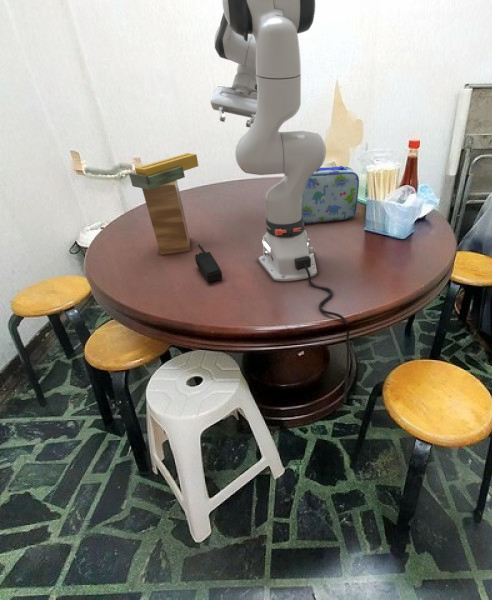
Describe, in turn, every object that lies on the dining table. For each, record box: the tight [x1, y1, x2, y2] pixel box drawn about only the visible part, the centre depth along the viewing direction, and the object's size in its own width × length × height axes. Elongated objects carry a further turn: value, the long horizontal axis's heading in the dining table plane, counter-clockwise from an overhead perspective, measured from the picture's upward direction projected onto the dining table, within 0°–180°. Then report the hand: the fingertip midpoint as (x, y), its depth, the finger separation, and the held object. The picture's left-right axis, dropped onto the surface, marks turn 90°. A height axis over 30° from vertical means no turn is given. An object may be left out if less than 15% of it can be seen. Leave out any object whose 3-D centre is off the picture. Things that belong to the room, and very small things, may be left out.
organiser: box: [128, 166, 191, 256], centre depth 120 cm, size 15×14×28 cm
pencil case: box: [134, 152, 199, 176], centre depth 116 cm, size 22×4×4 cm, turn 149°
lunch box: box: [302, 165, 360, 224], centre depth 140 cm, size 26×11×21 cm, turn 101°
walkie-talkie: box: [194, 243, 223, 283], centre depth 112 cm, size 6×6×20 cm
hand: (235, 123), depth 123 cm, fingers open, 8 cm apart
